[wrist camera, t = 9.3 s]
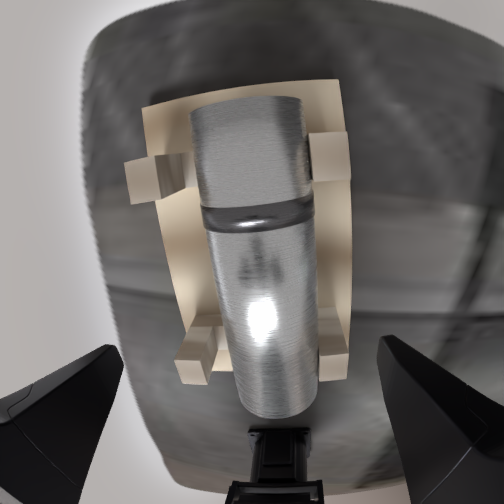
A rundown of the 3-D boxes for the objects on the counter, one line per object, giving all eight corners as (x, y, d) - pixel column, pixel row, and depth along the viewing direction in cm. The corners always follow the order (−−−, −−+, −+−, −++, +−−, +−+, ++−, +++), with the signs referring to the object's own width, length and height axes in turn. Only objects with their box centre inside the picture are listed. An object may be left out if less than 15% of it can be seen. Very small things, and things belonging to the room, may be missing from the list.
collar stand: (344, 355, 21) (357, 411, 16) (200, 362, 23) (181, 415, 17) (335, 83, 15) (360, 54, 9) (148, 109, 16) (97, 99, 11)
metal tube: (302, 355, 20) (331, 404, 15) (232, 373, 19) (247, 428, 14) (282, 112, 14) (323, 94, 10) (187, 122, 13) (186, 103, 9)
